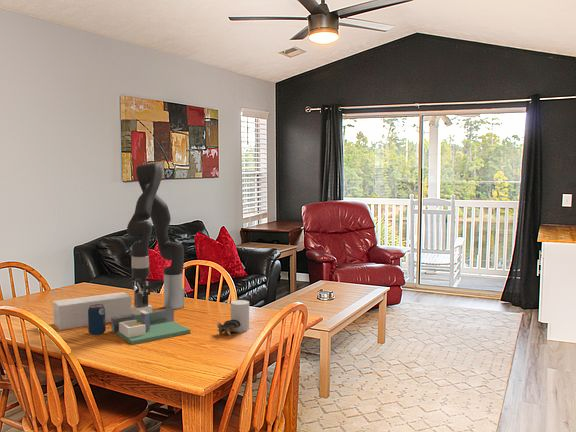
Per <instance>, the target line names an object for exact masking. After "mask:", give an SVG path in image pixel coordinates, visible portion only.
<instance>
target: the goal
mask: <svg viewBox="0 0 576 432" xmlns="http://www.w3.org/2000/svg"><path fill="white" fill-rule="evenodd" d="M136 323H137V320H131V321H125V322H119V332H120V333H122V334H123V335H125V336H126V337H128V338H129V337H135V336H140V335H145V334H146V325H145V324H144V325H138V326H134V325H135V324H136Z"/></svg>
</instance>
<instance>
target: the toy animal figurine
mask: <svg viewBox="0 0 576 432" xmlns="http://www.w3.org/2000/svg"><path fill="white" fill-rule="evenodd" d="M240 325H241V324H240V322H239V321H237V320H234V319H232V320H231V319H229V320H226V321H224V322H223V324H222V323H221V322H217V323H216V327H217V328H218V329H217V331H218V332H219V333H218V335H219V336H221V335H222V334H223V332H225V333H226V334H228V335H229V336H231V332H234V333H237V334H238V332H237V331H235V330H234V329H233V328H238V327H239V326H240ZM230 331H231V332H230Z"/></svg>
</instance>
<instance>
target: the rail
mask: <svg viewBox="0 0 576 432" xmlns="http://www.w3.org/2000/svg"><path fill="white" fill-rule="evenodd" d="M174 312H175V309H172V308H162V309H155V310H152V313H149V314H150V325H155V324H161V323H166V322H172V321H174V322H175V316H174V315H175V313H174ZM131 320H137V323H138V322H140V323H141V315H136V316H135V315H133V314H130V315H124V316H118V317H112V318H111V323H110V325H111V326H110V327H111V328H110V329H111V330H110V331H111V332H112V333H113V334H117V331H119V322H125V321H131Z"/></svg>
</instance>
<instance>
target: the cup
mask: <svg viewBox="0 0 576 432" xmlns="http://www.w3.org/2000/svg"><path fill="white" fill-rule="evenodd" d="M232 319H234V320H237V321H239V322H240V324H241V325H240V326H239V327H238V328H233V329H234V330H235V331H237V332H239V333H244V332H247V330H248V331H250V301H249V300H246V299H245V300H244V299H237V300H231V302H230V320H232ZM243 331H244V332H243Z"/></svg>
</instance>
